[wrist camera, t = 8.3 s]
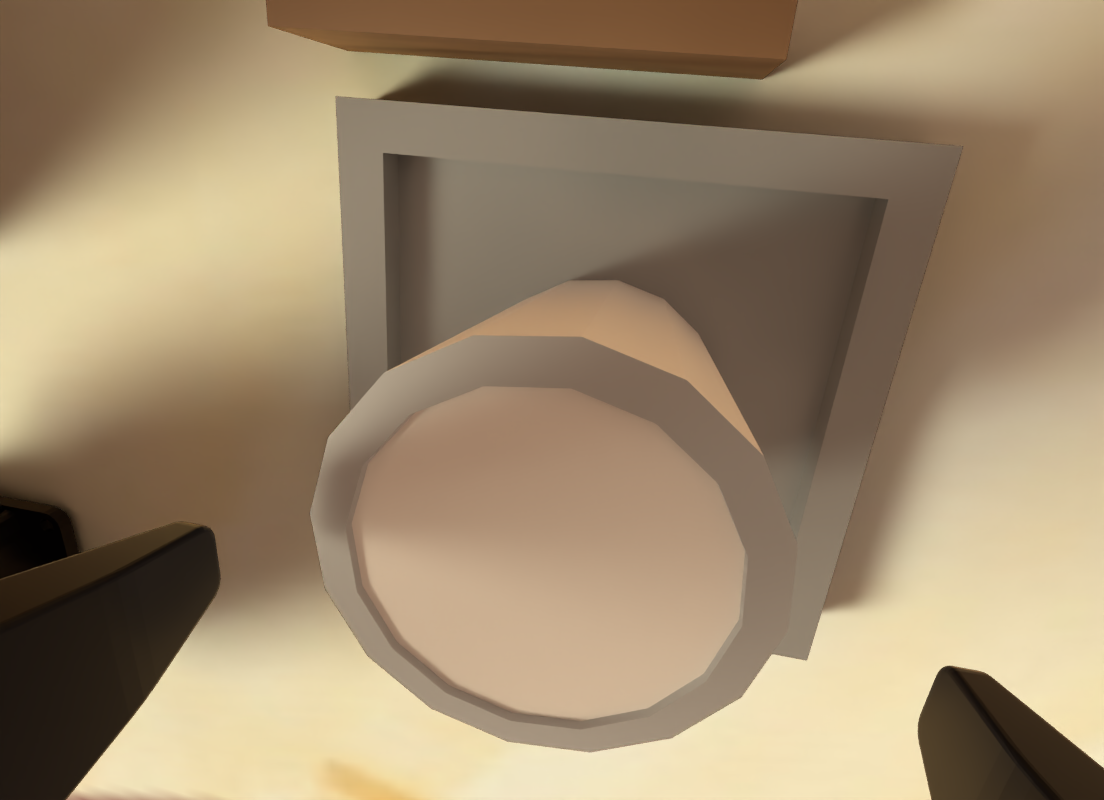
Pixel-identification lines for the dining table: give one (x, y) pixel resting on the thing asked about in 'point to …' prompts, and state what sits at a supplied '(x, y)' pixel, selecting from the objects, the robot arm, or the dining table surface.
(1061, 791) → the robot arm
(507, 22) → the wooden pieces
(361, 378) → the tray
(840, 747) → the dining table surface
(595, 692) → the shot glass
